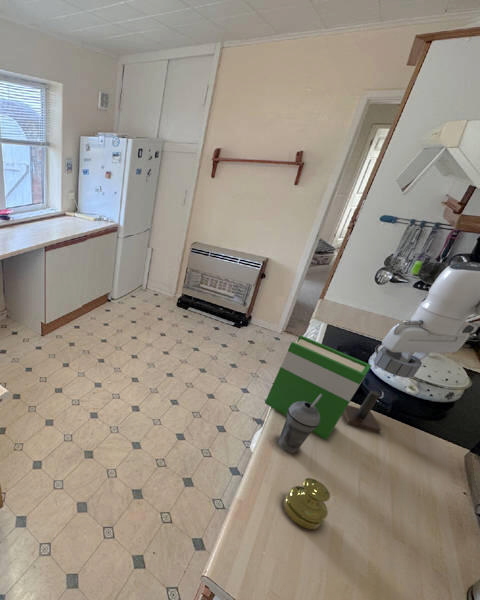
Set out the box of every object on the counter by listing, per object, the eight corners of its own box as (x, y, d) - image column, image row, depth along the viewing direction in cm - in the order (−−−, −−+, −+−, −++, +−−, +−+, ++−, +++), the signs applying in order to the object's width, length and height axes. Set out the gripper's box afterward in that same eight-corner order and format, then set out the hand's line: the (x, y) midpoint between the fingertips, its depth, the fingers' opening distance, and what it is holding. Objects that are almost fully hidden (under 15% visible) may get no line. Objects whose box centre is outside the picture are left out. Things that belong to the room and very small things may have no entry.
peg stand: (368, 415, 104) (385, 389, 99) (378, 433, 97) (397, 406, 92) (339, 406, 106) (355, 381, 101) (347, 424, 99) (363, 397, 94)
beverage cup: (275, 430, 95) (301, 378, 86) (304, 445, 91) (334, 391, 82) (270, 446, 90) (297, 392, 81) (300, 462, 86) (331, 407, 77)
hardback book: (264, 403, 105) (291, 342, 94) (274, 393, 110) (300, 335, 99) (326, 439, 93) (364, 375, 82) (334, 427, 98) (371, 365, 87)
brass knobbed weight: (275, 503, 75) (291, 476, 71) (296, 492, 78) (312, 465, 74) (306, 536, 69) (325, 508, 65) (327, 522, 72) (347, 495, 68)
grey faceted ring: (404, 363, 94) (412, 351, 92) (420, 381, 87) (428, 369, 85) (368, 354, 97) (375, 343, 95) (381, 372, 89) (388, 360, 87)
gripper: (413, 326, 81) (385, 369, 87) (483, 328, 83) (451, 370, 89) (390, 314, 87) (365, 355, 93) (456, 315, 89) (427, 356, 95)
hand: (408, 362), depth 91 cm, fingers closed on grey faceted ring
